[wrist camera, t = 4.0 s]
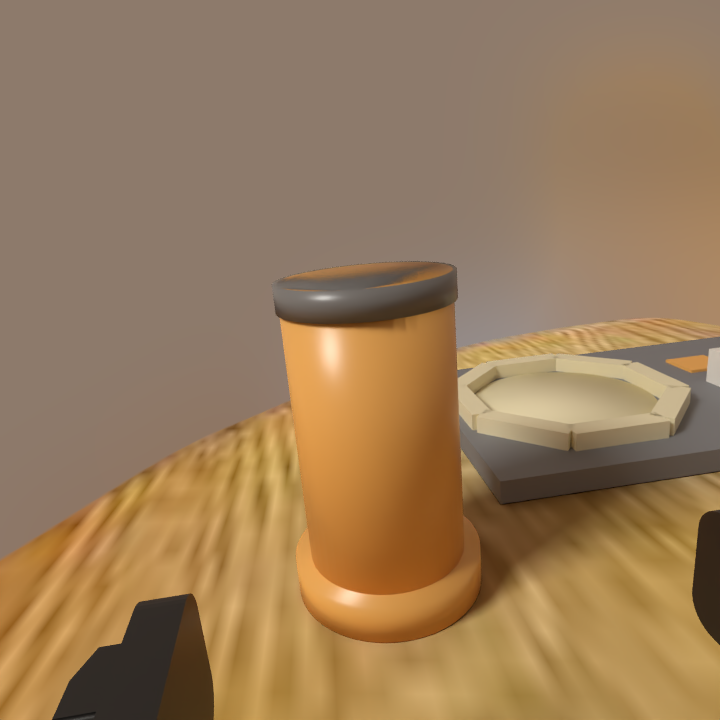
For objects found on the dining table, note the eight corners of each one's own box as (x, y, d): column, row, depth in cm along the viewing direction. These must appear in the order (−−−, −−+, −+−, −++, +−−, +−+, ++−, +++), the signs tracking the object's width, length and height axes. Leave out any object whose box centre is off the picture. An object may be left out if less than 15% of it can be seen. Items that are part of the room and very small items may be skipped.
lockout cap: (451, 512, 22) (439, 254, 19) (510, 623, 16) (505, 276, 13) (298, 535, 21) (261, 273, 18) (302, 659, 15) (250, 305, 13)
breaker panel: (765, 345, 38) (773, 283, 36) (1030, 423, 24) (1055, 330, 23) (419, 389, 35) (415, 325, 34) (500, 503, 22) (498, 405, 21)
